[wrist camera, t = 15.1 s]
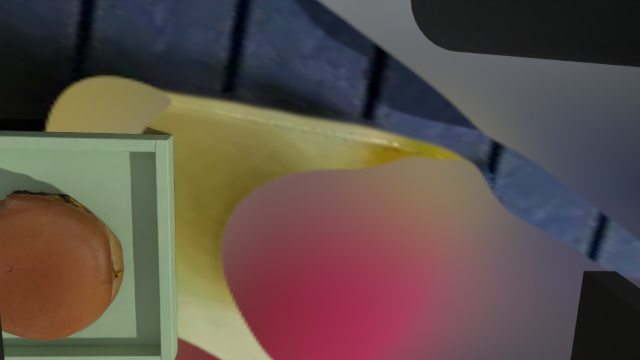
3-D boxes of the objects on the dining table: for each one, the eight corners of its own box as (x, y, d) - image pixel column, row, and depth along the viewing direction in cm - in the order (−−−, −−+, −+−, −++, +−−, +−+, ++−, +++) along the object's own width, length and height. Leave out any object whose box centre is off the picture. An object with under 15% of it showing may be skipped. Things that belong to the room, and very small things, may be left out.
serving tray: (172, 134, 39) (167, 139, 37) (177, 351, 42) (172, 366, 40) (-79, 128, 37) (-98, 133, 36) (-52, 352, 41) (-68, 367, 39)
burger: (141, 307, 41) (124, 341, 36) (5, 331, 41) (-29, 368, 36) (106, 169, 38) (83, 186, 34) (-38, 193, 38) (-81, 214, 34)
